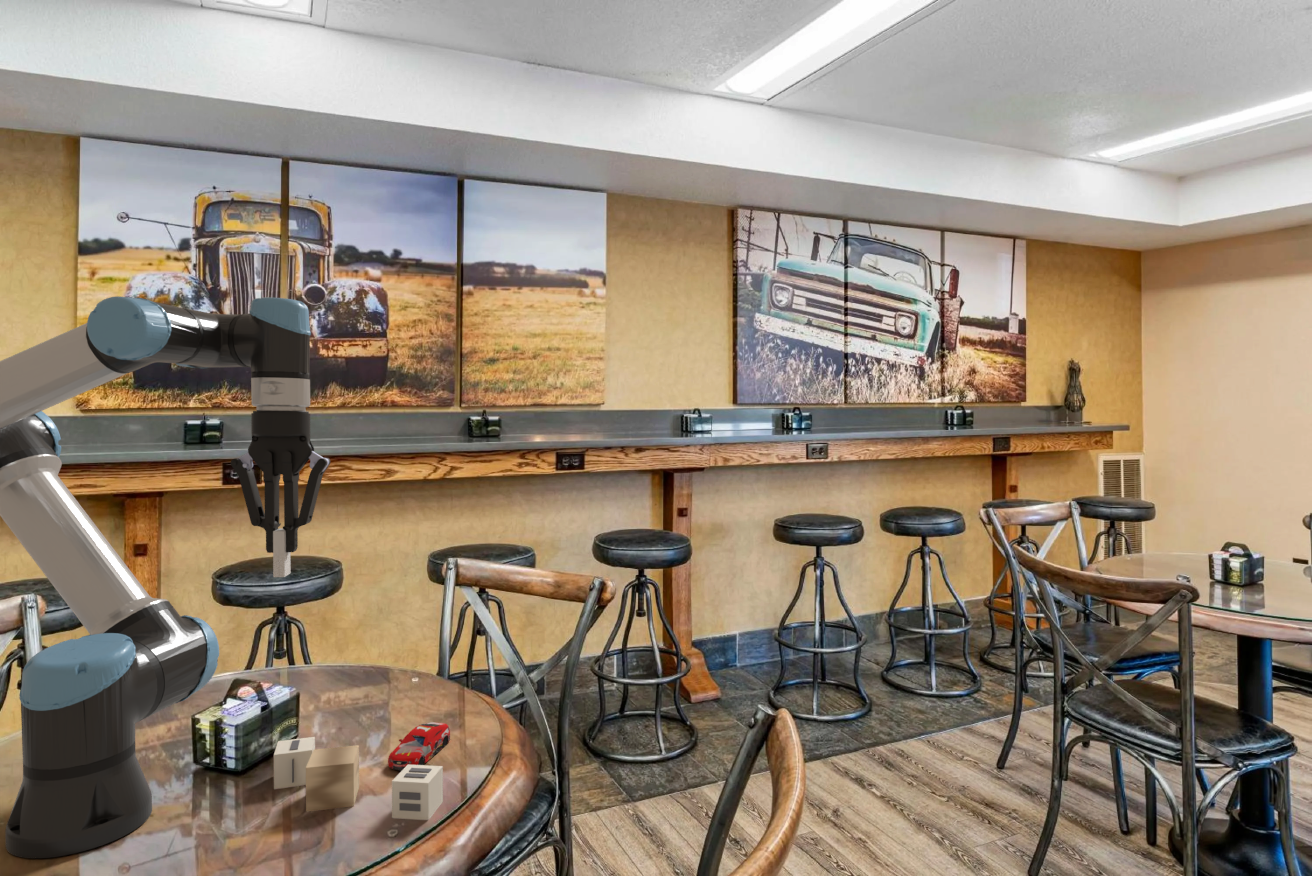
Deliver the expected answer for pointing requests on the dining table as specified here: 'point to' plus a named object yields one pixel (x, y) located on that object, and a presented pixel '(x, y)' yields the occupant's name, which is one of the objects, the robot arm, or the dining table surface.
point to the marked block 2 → (417, 792)
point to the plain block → (332, 778)
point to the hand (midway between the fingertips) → (282, 575)
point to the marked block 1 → (292, 762)
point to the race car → (419, 745)
